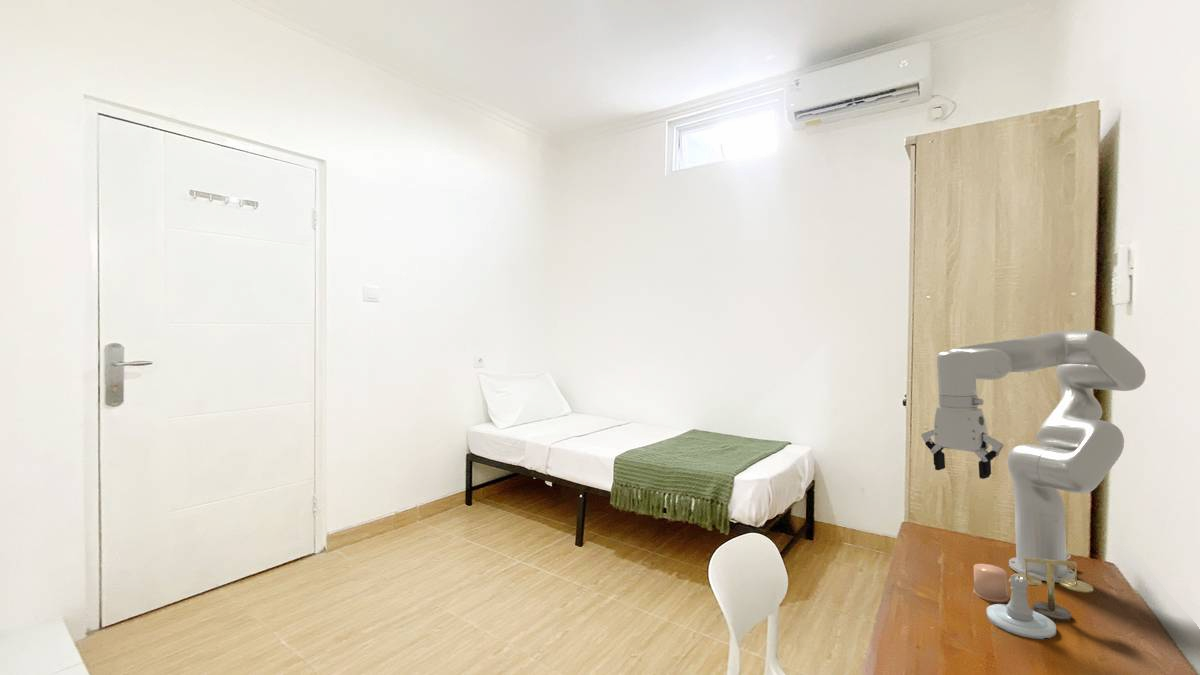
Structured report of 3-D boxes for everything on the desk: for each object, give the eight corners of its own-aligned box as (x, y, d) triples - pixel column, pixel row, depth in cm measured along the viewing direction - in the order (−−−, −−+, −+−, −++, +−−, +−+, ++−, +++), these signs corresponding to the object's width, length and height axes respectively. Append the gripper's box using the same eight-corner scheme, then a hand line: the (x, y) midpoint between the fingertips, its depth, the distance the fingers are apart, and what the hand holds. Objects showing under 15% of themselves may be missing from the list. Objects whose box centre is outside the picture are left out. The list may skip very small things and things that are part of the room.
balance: (1021, 596, 115) (1019, 541, 115) (1100, 625, 102) (1098, 564, 103) (1007, 602, 112) (1004, 546, 112) (1086, 633, 100) (1083, 570, 100)
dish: (1004, 604, 111) (1004, 598, 111) (1067, 629, 101) (1067, 623, 101) (975, 617, 107) (975, 611, 107) (1038, 644, 97) (1038, 637, 97)
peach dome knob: (983, 586, 120) (982, 561, 120) (1014, 598, 114) (1013, 571, 114) (967, 592, 117) (966, 566, 117) (998, 605, 111) (997, 578, 111)
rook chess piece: (1039, 623, 102) (1037, 583, 102) (1014, 621, 102) (1012, 581, 103) (1025, 611, 106) (1023, 573, 106) (1001, 610, 107) (999, 572, 107)
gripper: (1008, 403, 115) (1012, 478, 115) (929, 398, 131) (932, 464, 130) (991, 407, 112) (995, 484, 112) (912, 400, 127) (915, 468, 127)
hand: (961, 473), depth 121 cm, fingers open, 9 cm apart
